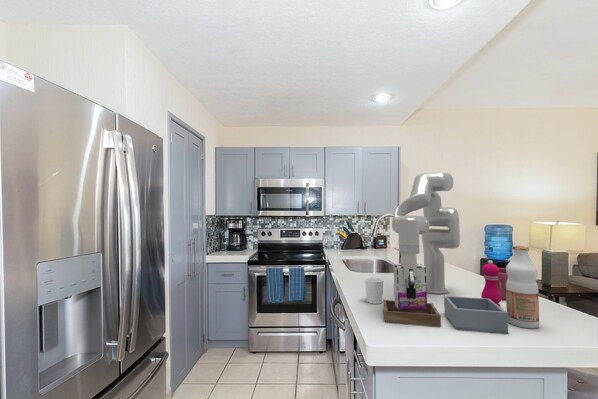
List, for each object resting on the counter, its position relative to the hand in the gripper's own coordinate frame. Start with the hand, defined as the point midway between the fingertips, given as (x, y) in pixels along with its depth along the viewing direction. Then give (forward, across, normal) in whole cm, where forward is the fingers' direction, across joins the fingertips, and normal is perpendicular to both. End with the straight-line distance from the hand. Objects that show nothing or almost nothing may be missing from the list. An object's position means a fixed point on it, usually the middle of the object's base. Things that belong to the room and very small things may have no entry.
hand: (410, 295), depth 114 cm
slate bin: (+9, +1, +22) cm, 23 cm away
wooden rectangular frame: (+8, +1, 0) cm, 8 cm away
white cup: (+9, -16, -13) cm, 23 cm away
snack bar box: (+5, 0, 0) cm, 5 cm away
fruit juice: (+9, -2, +39) cm, 40 cm away
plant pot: (+10, -36, +47) cm, 60 cm away
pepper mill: (+10, -19, +35) cm, 41 cm away
